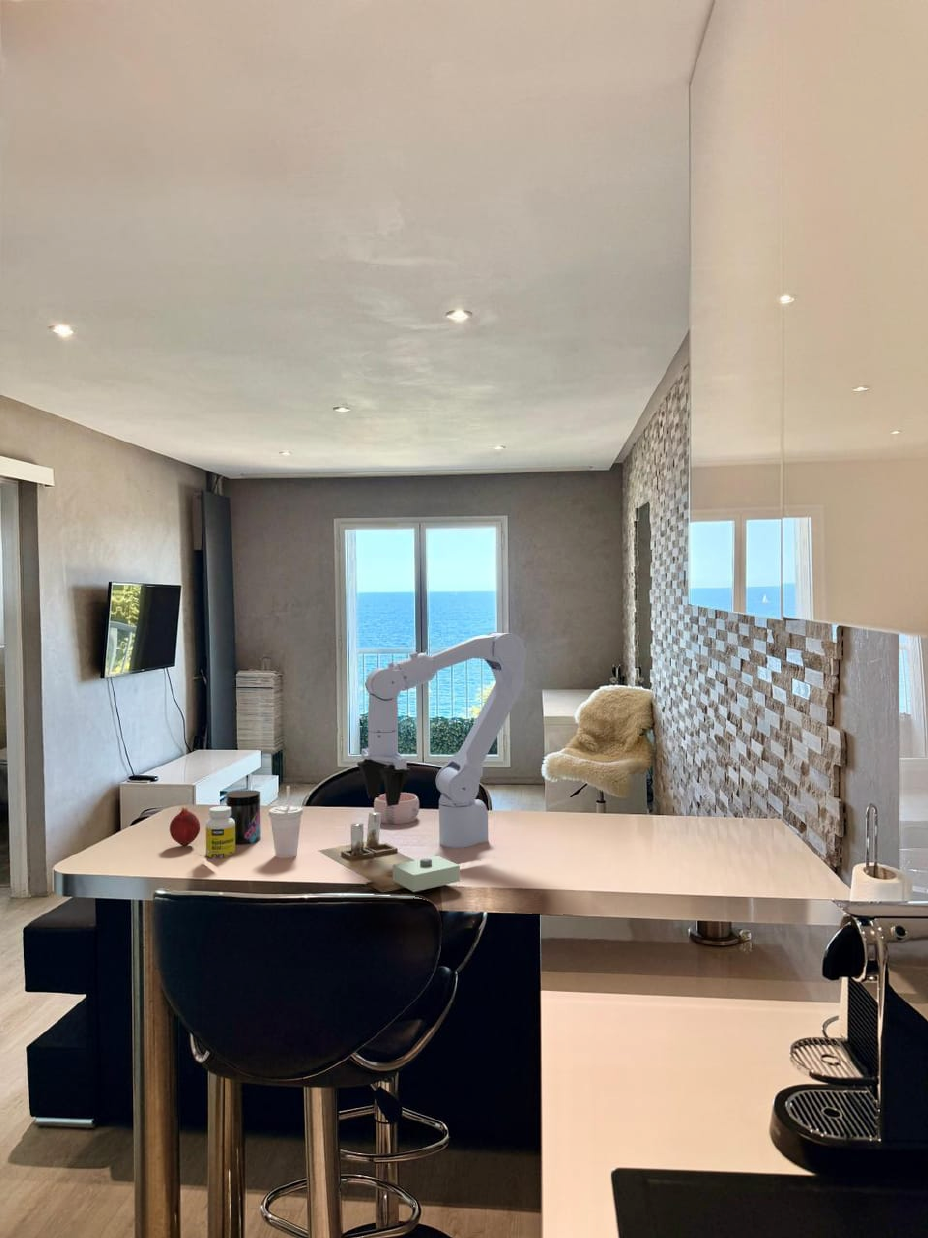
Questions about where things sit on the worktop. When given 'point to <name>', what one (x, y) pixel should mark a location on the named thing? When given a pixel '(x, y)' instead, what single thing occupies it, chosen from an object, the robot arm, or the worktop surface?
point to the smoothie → (286, 828)
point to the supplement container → (245, 815)
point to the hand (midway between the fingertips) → (383, 801)
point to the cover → (426, 873)
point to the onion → (184, 827)
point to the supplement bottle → (220, 833)
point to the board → (371, 863)
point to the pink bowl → (397, 809)
